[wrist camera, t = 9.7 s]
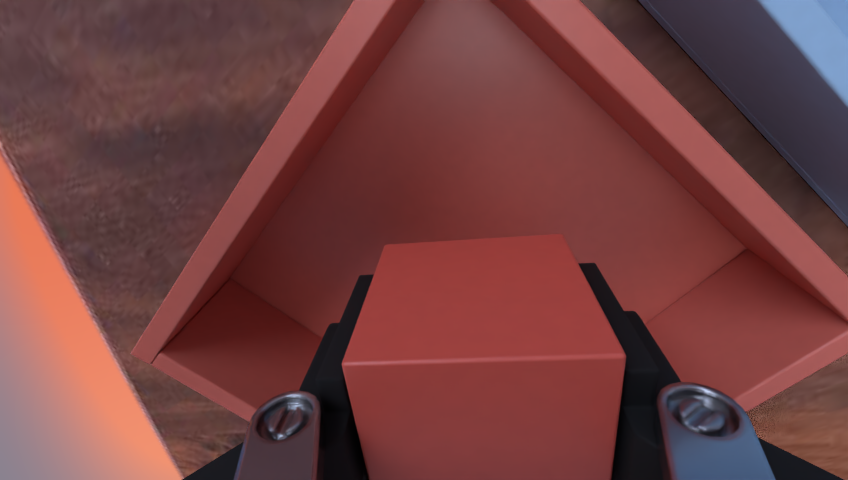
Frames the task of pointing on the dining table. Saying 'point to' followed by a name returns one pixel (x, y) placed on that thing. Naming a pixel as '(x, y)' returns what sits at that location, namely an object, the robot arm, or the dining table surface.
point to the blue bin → (777, 75)
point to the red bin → (496, 202)
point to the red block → (484, 364)
